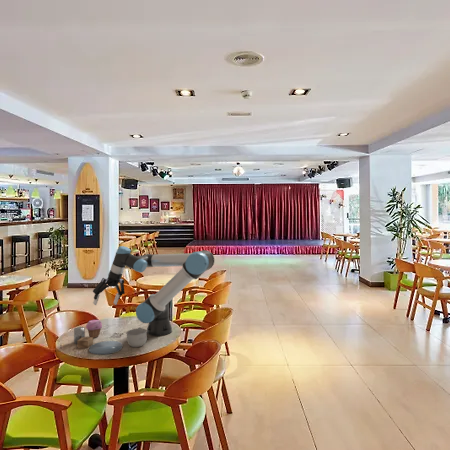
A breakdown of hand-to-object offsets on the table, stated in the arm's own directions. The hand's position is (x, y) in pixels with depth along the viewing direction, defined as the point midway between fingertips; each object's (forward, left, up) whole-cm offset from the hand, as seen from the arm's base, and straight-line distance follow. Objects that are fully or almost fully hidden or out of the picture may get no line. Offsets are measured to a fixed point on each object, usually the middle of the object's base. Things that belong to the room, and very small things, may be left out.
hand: (104, 304), depth 218 cm
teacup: (-25, +14, -19) cm, 34 cm away
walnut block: (+3, +19, -19) cm, 27 cm away
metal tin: (+9, +14, -19) cm, 25 cm away
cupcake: (+5, +4, -19) cm, 20 cm away
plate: (-10, +22, -19) cm, 30 cm away
